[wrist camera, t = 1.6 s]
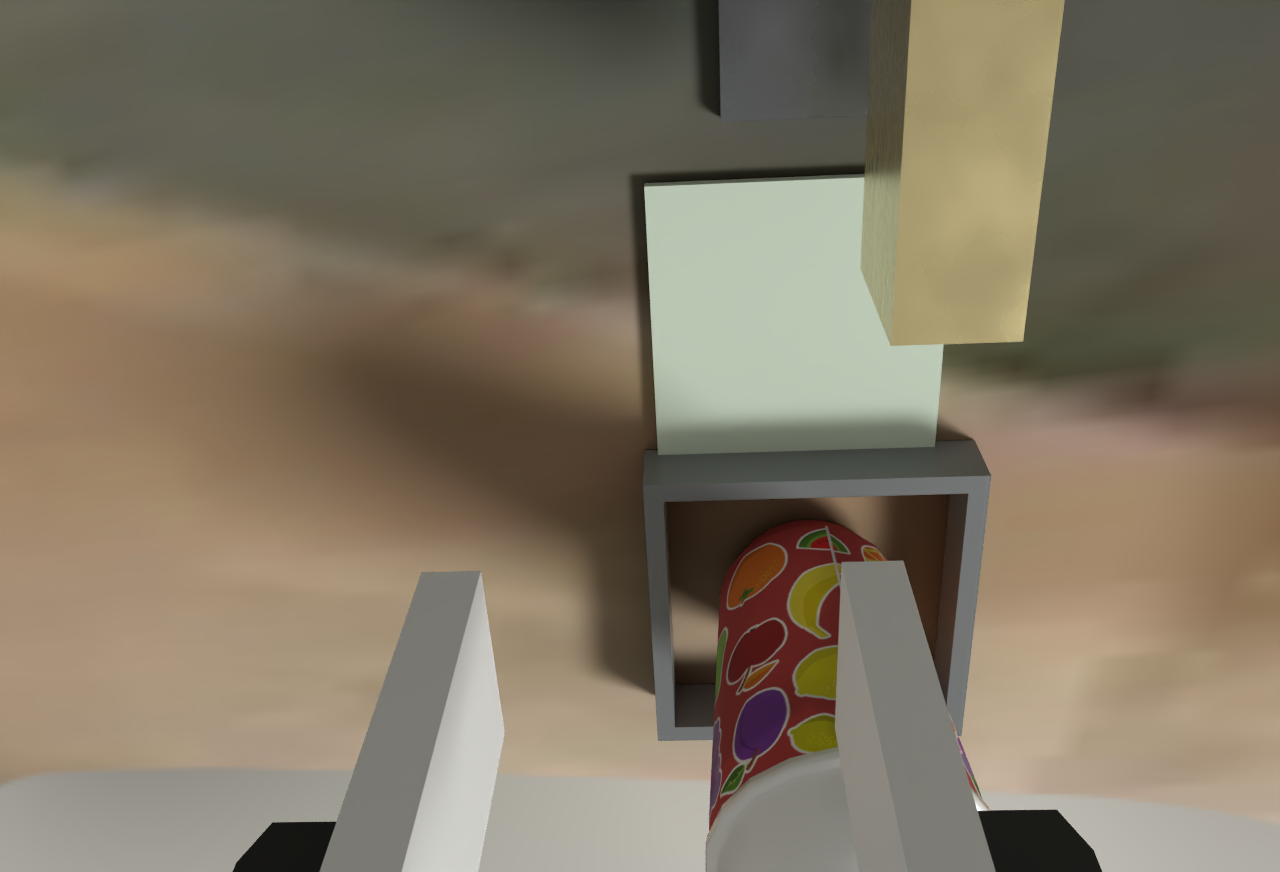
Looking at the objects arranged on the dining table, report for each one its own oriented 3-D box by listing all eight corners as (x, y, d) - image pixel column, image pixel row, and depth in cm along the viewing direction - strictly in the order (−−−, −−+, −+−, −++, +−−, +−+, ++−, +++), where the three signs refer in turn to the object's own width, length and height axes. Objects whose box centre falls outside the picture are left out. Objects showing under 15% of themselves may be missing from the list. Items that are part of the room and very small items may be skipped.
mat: (644, 183, 37) (644, 186, 36) (955, 170, 36) (958, 173, 36) (658, 449, 42) (658, 455, 41) (932, 441, 41) (934, 446, 41)
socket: (644, 450, 42) (642, 485, 39) (974, 440, 41) (990, 475, 39) (659, 697, 47) (658, 740, 45) (948, 692, 47) (961, 735, 44)
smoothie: (905, 660, 46) (1043, 1180, 28) (700, 662, 46) (712, 1177, 29) (921, 485, 42) (1094, 967, 24) (696, 489, 42) (708, 966, 25)
